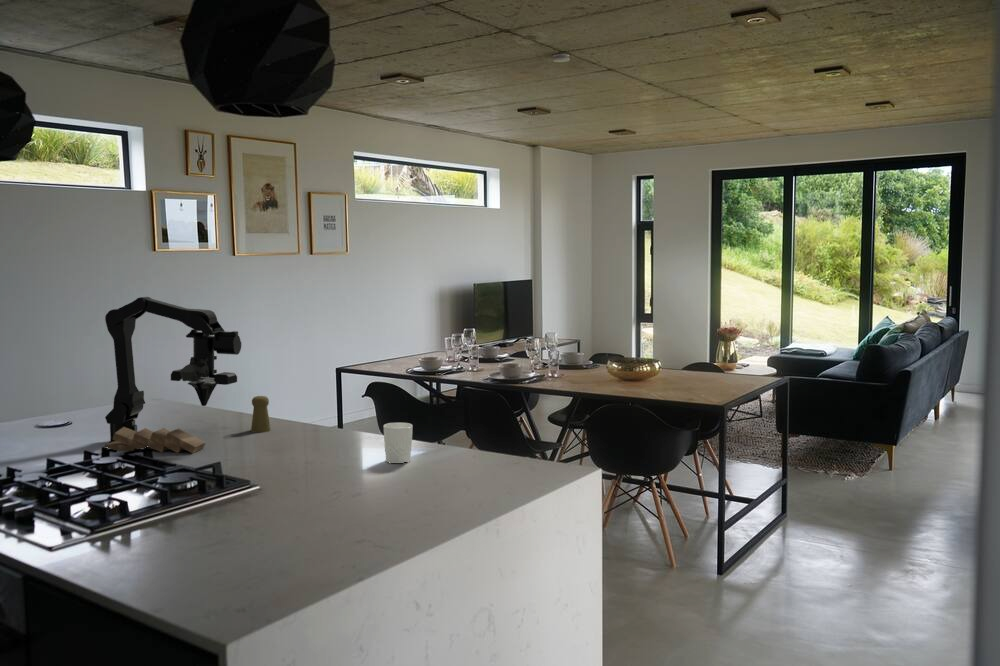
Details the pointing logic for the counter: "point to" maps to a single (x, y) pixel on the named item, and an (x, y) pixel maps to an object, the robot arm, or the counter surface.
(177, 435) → the walnut domino
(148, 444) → the walnut domino
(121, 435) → the walnut domino
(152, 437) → the walnut domino
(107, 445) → the walnut domino
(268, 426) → the olive yellow rounded piece
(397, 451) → the white cup
